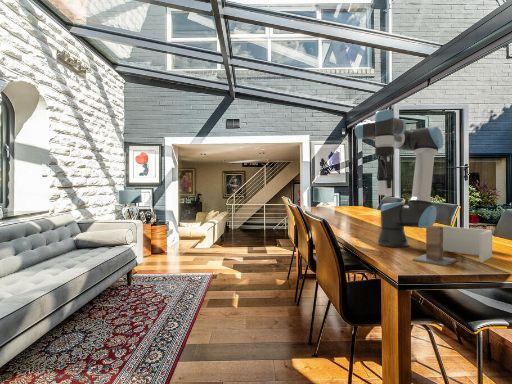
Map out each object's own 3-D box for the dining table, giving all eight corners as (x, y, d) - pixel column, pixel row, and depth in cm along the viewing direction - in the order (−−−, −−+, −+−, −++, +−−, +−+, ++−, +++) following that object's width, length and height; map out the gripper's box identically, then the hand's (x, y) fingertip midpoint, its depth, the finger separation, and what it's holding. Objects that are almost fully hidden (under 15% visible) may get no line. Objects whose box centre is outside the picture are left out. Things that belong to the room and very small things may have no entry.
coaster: (412, 260, 141) (412, 258, 140) (424, 255, 149) (424, 254, 149) (444, 266, 131) (444, 264, 131) (456, 260, 139) (456, 258, 139)
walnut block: (438, 260, 136) (438, 227, 136) (426, 258, 140) (426, 226, 140) (443, 258, 140) (443, 226, 139) (430, 256, 144) (430, 225, 143)
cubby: (482, 262, 136) (482, 234, 135) (426, 253, 153) (426, 228, 152) (492, 256, 145) (492, 230, 144) (438, 249, 162) (438, 225, 161)
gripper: (370, 149, 152) (370, 194, 152) (381, 143, 127) (381, 197, 128) (386, 149, 151) (387, 194, 151) (401, 142, 126) (401, 196, 127)
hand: (384, 195), depth 140 cm, fingers open, 13 cm apart
